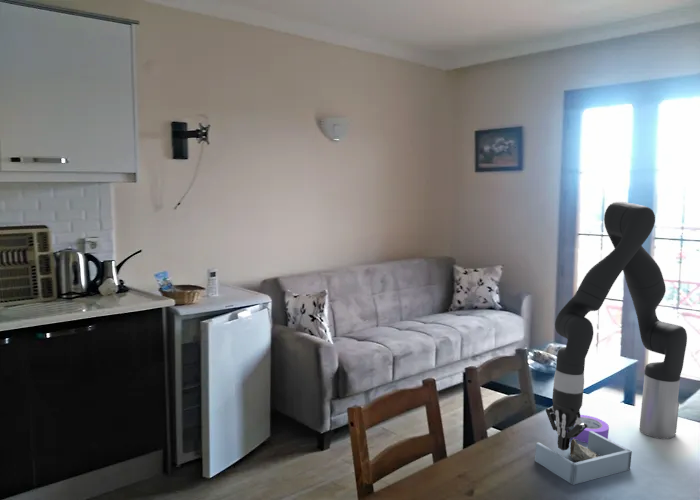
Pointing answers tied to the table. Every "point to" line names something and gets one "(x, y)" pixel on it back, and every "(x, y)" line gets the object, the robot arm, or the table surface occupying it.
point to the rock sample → (580, 452)
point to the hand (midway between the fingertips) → (562, 448)
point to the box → (608, 463)
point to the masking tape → (592, 428)
